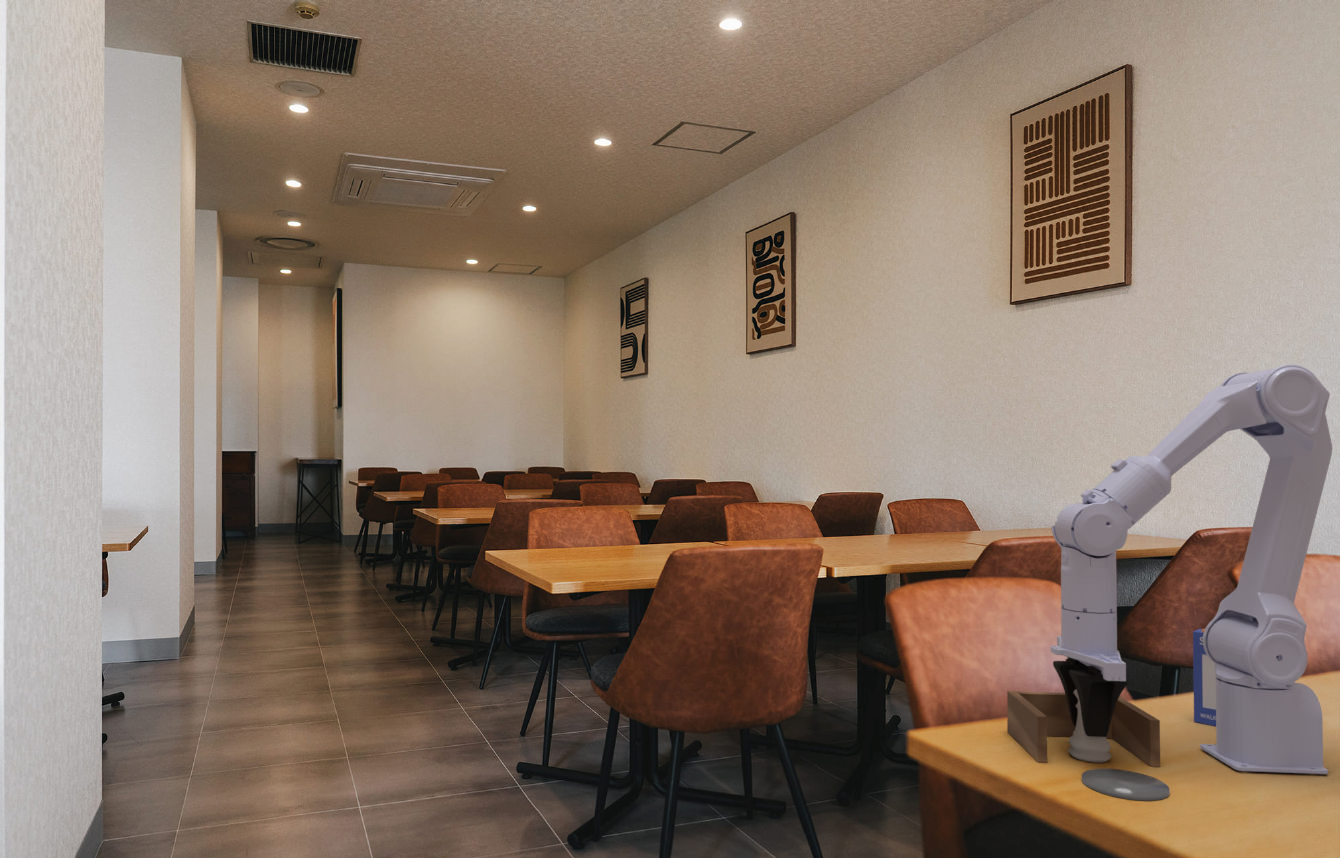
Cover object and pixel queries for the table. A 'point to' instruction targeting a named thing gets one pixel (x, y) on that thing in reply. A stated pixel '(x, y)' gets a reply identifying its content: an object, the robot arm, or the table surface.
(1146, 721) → the u-shaped barrier
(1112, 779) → the coaster
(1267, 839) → the table surface
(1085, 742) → the rook chess piece
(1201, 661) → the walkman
